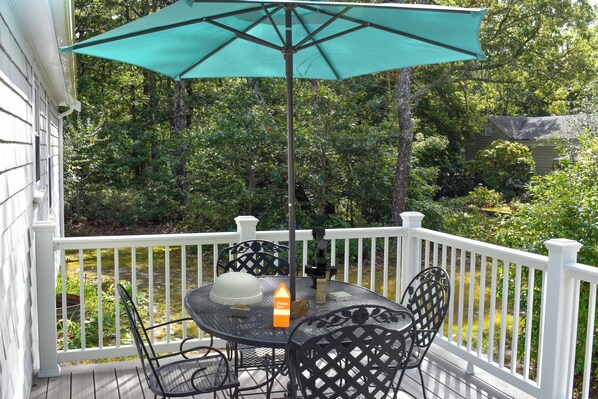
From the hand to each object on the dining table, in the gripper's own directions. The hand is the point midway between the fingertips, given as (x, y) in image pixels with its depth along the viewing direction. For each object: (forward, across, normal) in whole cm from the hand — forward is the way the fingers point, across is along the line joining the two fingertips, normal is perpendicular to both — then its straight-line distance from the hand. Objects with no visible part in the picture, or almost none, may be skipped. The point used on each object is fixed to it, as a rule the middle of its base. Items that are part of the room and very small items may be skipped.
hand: (321, 282), depth 318 cm
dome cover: (+7, -48, +9) cm, 49 cm away
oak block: (+10, 0, +5) cm, 11 cm away
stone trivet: (+4, +12, +12) cm, 18 cm away
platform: (+31, -42, -15) cm, 55 cm away
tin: (+29, -13, -13) cm, 34 cm away
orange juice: (+38, -22, -22) cm, 49 cm away
